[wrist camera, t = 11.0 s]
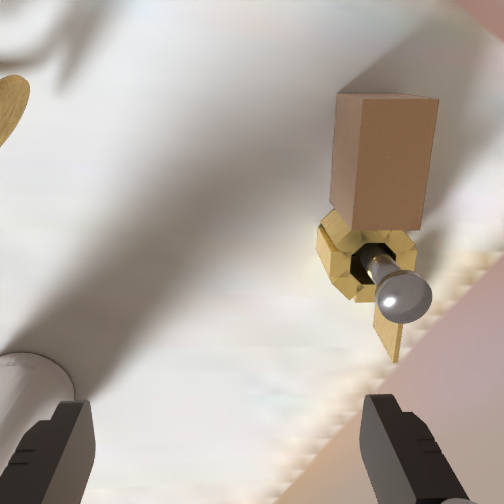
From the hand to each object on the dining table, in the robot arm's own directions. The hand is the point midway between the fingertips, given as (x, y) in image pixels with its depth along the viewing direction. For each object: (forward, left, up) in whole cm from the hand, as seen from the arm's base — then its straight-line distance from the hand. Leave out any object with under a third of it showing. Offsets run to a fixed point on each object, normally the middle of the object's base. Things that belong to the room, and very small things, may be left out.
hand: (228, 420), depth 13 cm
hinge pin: (-5, -12, -28) cm, 31 cm away
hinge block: (-3, -11, -28) cm, 30 cm away
